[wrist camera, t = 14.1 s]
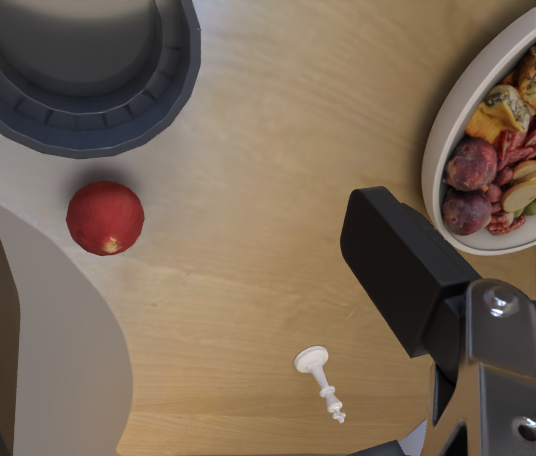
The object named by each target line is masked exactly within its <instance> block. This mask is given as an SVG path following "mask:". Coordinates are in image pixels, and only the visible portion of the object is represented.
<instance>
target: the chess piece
mask: <svg viewBox="0 0 536 456" xmlns="http://www.w3.org/2000/svg"><path fill="white" fill-rule="evenodd" d="M327 360H328V353H327V350H326V348H325V347H322V346H313V347H310V348H308V349H306V350H304V351H302V352H301V353H300V354H299V355H298V356H297V357H296V359H295V361H294V365H295V367H296V368H297V370H298V371H299V372H302V373H309V372H310V373H312V374H313V376H314V377H315V379H316V380H317V382H318V383H319V385H320V387H321V388H322V390H321V392H320V396H321V397H323V398H326V402H327V410H328V412H331V413H334V412H335V414H333V415H332V416H333V418H334V419H337V418H338V420H339V422H340V423H343V422H344V419H343V418H345V416H346V415H345V413H340V411H339V410H340V409H341V407H342V403H341V402H340V401H339V400H338V399H337V398H336V396H334V395H333V393H334V392H335V388H334V387H333V386H328V383H327V380H326V378H325V375H324V372H323V369H322V367H323V365H324V364H325V363H326V362H327Z"/></svg>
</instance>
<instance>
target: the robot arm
mask: <svg viewBox="0 0 536 456" xmlns="http://www.w3.org/2000/svg"><path fill="white" fill-rule="evenodd" d="M340 246H341V252H342V255H343V257H344V260H345V261H346V263H347V264H348V266H349V267H350V269H351V270H352V272H353V273H354V275H355V276H356V278H357V279H358V281H359V282H360V284H361V285H362V287H363V288H364V290H365V291H366V292H367V294H368V295H369V297H370V298H371V300H372V301H373V303H374V304H375V306H376V307H377V309H378V310H379V312H380V313H381V315H382V316H383V318H384V319H385V321H386V322H387V324H388V325H389V327H390V328H391V330H392V331H393V333H394V334H395V336H396V337H397V338H398V340H399V341H400V343H401V344H402V346H403V347H404V349H405V350H406V352H407V353H408V355H409V356H410V358H414V357H418V356H422V355H425V354H430V355H431V357H432V358H433V360H434V361H433V363H432V365H431V368H430V378H429V391H428V405H427V419H426V432H425V433H426V434H425V439H424V444H423V448H422V451H421V454H420V456H536V301H535V300H530V299H529V297H528V296H527V295H526V294H525V293H523V292H522V291H521V290H519V289H518V288H516V287H515V286H513V285H511V284H509V283H506V282H504V281H501V280H496V279H489V278H485V279H483V278H482V277H481V276H480V275H479V274H478V273H477V272H476V271H475V270H474V269H473V268H472V267H471V265H470V264H469V263H468V262H467V261H466V260H465V259H464V258H463V257H462V256H461V255H460V254H459V253H458V252H457V251H456V250H455V249H454V248H453V246H452V245H451V244H450V243H449V242H448V241H447V240H446V241H445V240H444V237H443V236H442V235H441V234H440V233H439V232H438V231H437V230H434V226H433V225H432V224H431V223H430V222H429V221H428V220H427V219H426V218H425V217H424V216H423V215H422V214H421V213H420V212H418V211H416V210H415V209H413V208H411V207H410V206H408V205H406V204H404V203H400V202H399V201H398V200H397V199H396V198H395V197H394V196H393V195H392V194H391V193H390V192H389V191H388V189H386V188H385V187H383V186H378V187H370V188H363V189H355V190H353V191H352V193H351V195H350V198H349V202H348V206H347V210H346V215H345V219H344V224H343V228H342V232H341V237H340ZM19 333H20V304H19V297H18V292H17V289H16V285H15V282H14V279H13V276H12V273H11V270H10V267H9V264H8V261H7V258H6V255H5V251H4V249H3V245H2V243H1V240H0V456H13V442H14V424H15V406H16V387H17V369H18V349H19ZM347 456H409V455H405V454H404V452H403V450H402V449H401V447H400V445H399V443H398V441H397V440H394V441H390V442H387V443H384V444H381V445H378V446H375V447H371V448H368V449H365V450H362V451H359V452H356V453H353V454H349V455H347Z"/></svg>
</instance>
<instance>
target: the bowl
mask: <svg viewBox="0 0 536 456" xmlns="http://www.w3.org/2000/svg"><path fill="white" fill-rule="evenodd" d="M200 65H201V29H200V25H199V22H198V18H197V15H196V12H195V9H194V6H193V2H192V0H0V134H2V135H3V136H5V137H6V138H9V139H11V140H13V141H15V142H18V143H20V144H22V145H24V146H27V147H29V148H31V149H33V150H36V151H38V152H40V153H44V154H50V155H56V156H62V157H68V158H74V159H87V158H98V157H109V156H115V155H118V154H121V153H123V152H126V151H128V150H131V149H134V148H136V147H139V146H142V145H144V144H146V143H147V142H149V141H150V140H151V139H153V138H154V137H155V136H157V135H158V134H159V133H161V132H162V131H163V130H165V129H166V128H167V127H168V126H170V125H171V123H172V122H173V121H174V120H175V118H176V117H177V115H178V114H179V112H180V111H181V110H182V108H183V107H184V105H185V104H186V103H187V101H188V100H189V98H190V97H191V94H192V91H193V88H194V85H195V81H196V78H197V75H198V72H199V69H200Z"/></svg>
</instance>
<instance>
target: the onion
mask: <svg viewBox="0 0 536 456" xmlns="http://www.w3.org/2000/svg"><path fill="white" fill-rule="evenodd" d="M66 222H67V226H68V229H69V231H70V234H71V237H72V238H73V240H74V241H75V242H76V243H77V244H78V245H80V246H81V247H82V248H83V249H84V250H86V251H87V252H90V253H93V254H96V255H99V256H107V255H115V254H118V253H121V252H124V251H125V250H127V249H128V248H129V247H131V246H132V245H133V244H134V243H135V241H136V240H137V238H138V237H139V235H140V234H141V230H142V226H143V222H144V211H143V208H142V205H141V202H140V200H139V198H138V197H137V196H136V195H135V194H134V193H133V192H132V191H131V190H130V189H129V188H127V187H125V186H123V185H121V184H118V183H116V182H109V181H100V182H94V183H90V184H88V185H86V186H85V187H83V188H81V189H80V190H78V191H77V192H76V193H75V195H74V196H73V198H72V199H71V200H70V202H69V206H68V211H67V217H66Z"/></svg>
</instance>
